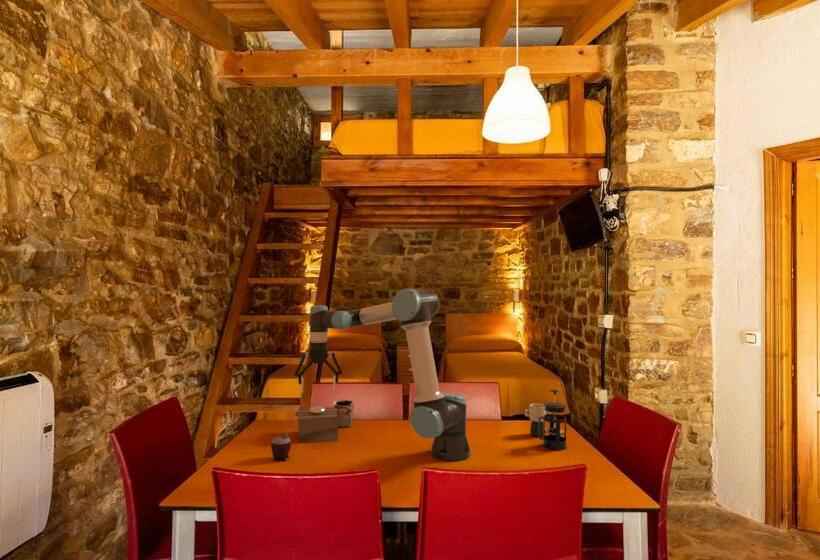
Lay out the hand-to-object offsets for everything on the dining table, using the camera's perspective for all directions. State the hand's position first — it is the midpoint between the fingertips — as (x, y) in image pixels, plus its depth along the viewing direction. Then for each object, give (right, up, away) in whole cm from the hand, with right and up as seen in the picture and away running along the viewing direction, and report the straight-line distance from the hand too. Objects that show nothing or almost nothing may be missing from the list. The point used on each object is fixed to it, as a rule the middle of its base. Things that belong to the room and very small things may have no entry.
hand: (318, 391), depth 206 cm
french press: (+98, -20, -10) cm, 100 cm away
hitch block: (0, -19, 0) cm, 19 cm away
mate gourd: (-8, -19, -28) cm, 35 cm away
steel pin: (0, -19, 0) cm, 19 cm away
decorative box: (+7, -20, +22) cm, 30 cm away
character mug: (+95, -21, +4) cm, 97 cm away
